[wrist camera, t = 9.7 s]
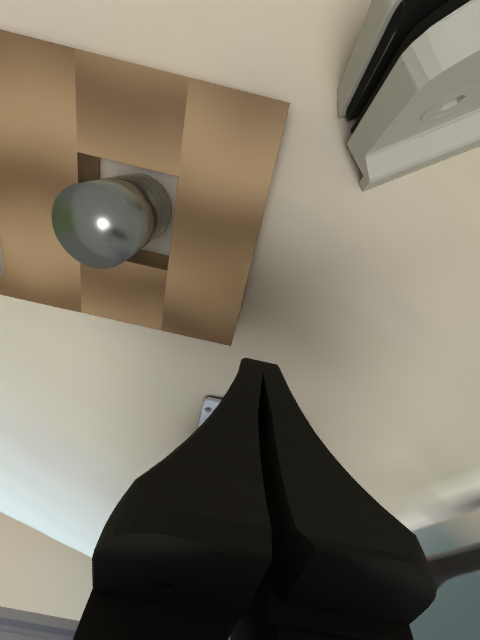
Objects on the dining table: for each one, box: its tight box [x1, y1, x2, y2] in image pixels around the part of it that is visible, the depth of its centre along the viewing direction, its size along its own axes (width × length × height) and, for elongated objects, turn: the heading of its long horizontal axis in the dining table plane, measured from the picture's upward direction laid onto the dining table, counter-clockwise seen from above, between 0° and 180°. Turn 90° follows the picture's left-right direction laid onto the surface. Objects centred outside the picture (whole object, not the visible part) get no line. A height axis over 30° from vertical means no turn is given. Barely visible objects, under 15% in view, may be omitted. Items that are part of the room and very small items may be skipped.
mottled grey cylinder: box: [51, 174, 172, 269], centre depth 16 cm, size 4×4×6 cm
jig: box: [0, 30, 290, 346], centre depth 18 cm, size 13×18×3 cm
